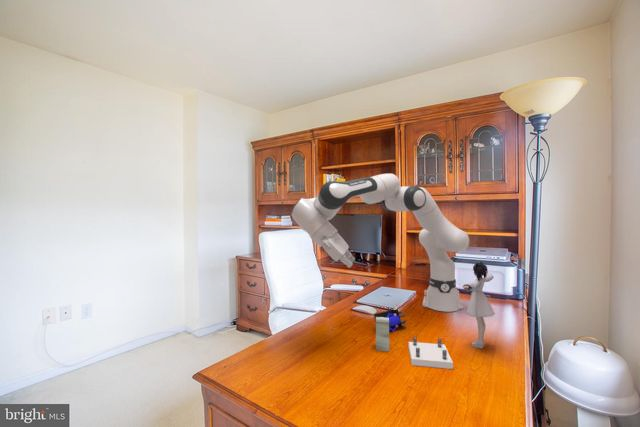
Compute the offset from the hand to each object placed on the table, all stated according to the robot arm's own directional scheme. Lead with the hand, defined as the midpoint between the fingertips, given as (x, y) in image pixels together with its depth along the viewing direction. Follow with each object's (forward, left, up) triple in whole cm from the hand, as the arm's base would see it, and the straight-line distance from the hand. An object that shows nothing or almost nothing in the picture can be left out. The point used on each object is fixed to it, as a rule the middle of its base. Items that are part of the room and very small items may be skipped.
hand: (352, 263), depth 106 cm
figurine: (-7, +44, -30) cm, 54 cm away
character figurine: (-16, +13, -30) cm, 36 cm away
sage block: (0, +10, -30) cm, 31 cm away
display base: (+4, +25, -30) cm, 39 cm away
